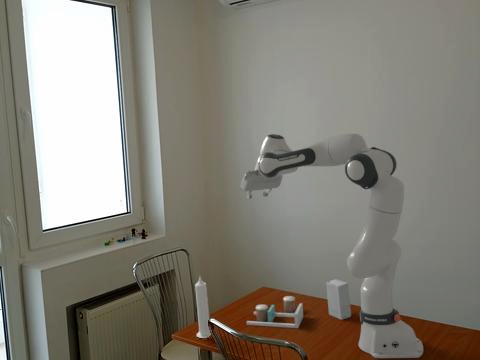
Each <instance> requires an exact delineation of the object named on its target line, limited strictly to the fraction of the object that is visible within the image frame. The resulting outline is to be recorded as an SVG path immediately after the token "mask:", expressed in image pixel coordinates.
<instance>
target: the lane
mask: <svg viewBox="0 0 480 360" xmlns="http://www.w3.org/2000/svg"><path fill="white" fill-rule="evenodd" d="M303 306H304V305H303V302H302V303H299V304H298V305H297V308H296V309H295V310H296V311H295V312H294V313H285V312H277V313H278V316H277V317H284V318H294V323H287V322H286V323H284V322H273V321H272V322H268V321H267V322H258V321H257V320H256V321H253V320H252V321H251V320H246V325H247V326H257V327H258V326H259V327H275V328H289V329H291V328H292V329H299V327H300V325H301V323H302V321H303V319H304V309H303ZM253 315H254V316H257V315H256V310H255V311H253Z"/></svg>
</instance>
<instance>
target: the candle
mask: <svg viewBox="0 0 480 360" xmlns="http://www.w3.org/2000/svg"><path fill="white" fill-rule="evenodd" d="M194 289H195V298H196V299H195V300H196V309H197V319H198V321H197V322H198V332H196V338H197V337H199V338H207V337H209V336H210V335H211V333H210V330H211V329H210V330H209V327H208V320H209V321H210V312H209V311H210V310H209V299H208V298H209V297H208V288H207V283H206V282H204V281H203V280H202V277H201V276H199V277H198V281H197V282H196V283H195V284H194ZM199 338H198V339H199Z"/></svg>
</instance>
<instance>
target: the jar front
mask: <svg viewBox="0 0 480 360" xmlns="http://www.w3.org/2000/svg"><path fill="white" fill-rule="evenodd" d="M268 308H269V307H268V305H267V304H257V305H256V306H255V311H256V315H255V316H256V322H268V314H267V312H268V310H269V309H268Z"/></svg>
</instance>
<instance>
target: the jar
mask: <svg viewBox="0 0 480 360" xmlns="http://www.w3.org/2000/svg"><path fill="white" fill-rule="evenodd" d="M282 300H283V313H292V314H295V312H296V310H297V309H296V297H295V296H293V295H286V296H284V297H283V298H282Z"/></svg>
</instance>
